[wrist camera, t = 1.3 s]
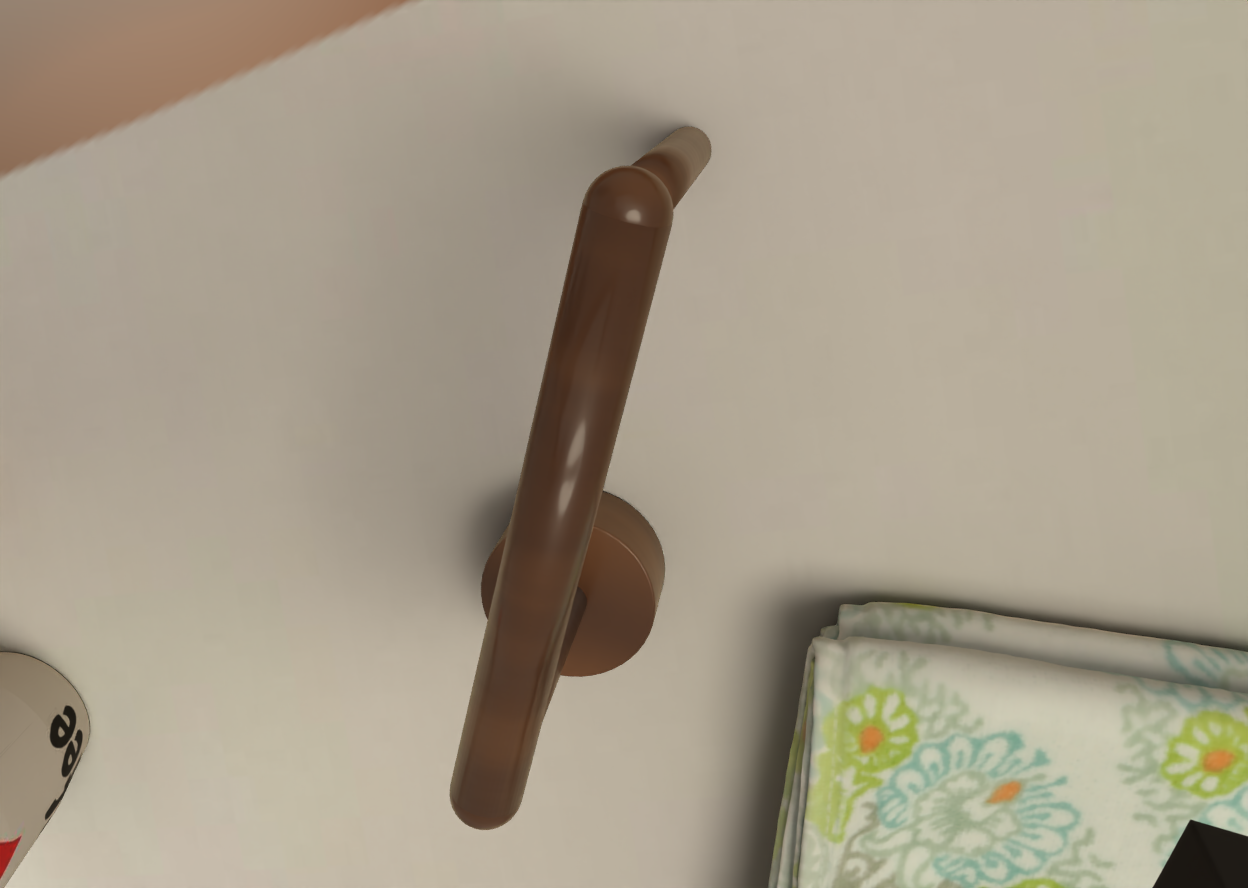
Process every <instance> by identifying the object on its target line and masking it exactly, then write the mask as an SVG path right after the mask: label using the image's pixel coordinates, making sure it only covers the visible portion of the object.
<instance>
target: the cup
mask: <svg viewBox="0 0 1248 888" xmlns="http://www.w3.org/2000/svg"><path fill="white" fill-rule="evenodd" d="M89 733H90V726H89V719H88V715H87V711H86V709H85V706H84V704H83V702H82V700H81V698H80V697H79V695H78V693H77V692H76V690H75V689H74V688H73V687H72V685H71V684H70V683H69V682H68V681H67V680H66V679H65V678H64V677H63V676H62V675H61V674H60V673H58V672H57V671H56V670H54V669H53V668H52V667H50V666H48V665H47V664H45V663H43V662H41V661H39V660H37V659H35V658H32V657H30V656H27V655H23V654H19V653H12V652H0V888H4V887H5V885H6V884H7V883H8V881H9V880H10V878H11V877H12V875H13V874H14V872H15V871H16V869H17V868H18V866H19V865H20V863H21V862H22V860H23V859H24V857H25V856H26V854H27V853H28V851H29V850H30V848H31V847H32V845H33V844H34V842H35V841H36V839H37V838H38V836H39V835H40V833H41V832H42V830H43V829H44V827H45V826H46V824H47V823H48V821H49V820H50V818H51V817H52V815H53V814H54V812H55V811H56V809H57V808H58V806H59V804H60V803H61V800H62V798H63V796H64V794H65V792H66V789H67V787H68V785H69V783H70V781H71V779H72V776H73V774H74V772H75V770H76V768H77V766H78V763H79V761H80V759H81V757H82V755H83V753H84V750H85V748H86V746H87V743H88V740H89Z"/></svg>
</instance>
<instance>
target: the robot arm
mask: <svg viewBox="0 0 1248 888" xmlns="http://www.w3.org/2000/svg"><path fill="white" fill-rule="evenodd" d="M1153 888H1248V836H1245V835H1242V834H1239V833H1235V832H1232V831H1228V830H1225V829H1221V828H1218V827H1215V826H1211V825H1208V824H1204V823H1201V822H1198V821H1194V820H1191V819H1190V821H1189V823H1188V824H1187V826H1186V828H1185V830H1184V832H1183V833H1182V835H1181V837H1180V839H1179V841H1178V842H1177V844H1176V846H1175V848H1174V850H1173V851H1172V853H1171V855H1170V857H1169V859H1168V860H1167V862H1166V864H1165V866H1164V868H1163V870H1162V871H1161V873H1160V875H1159V877H1158V879H1157V880H1156V882H1155V884H1154V886H1153Z"/></svg>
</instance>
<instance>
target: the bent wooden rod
mask: <svg viewBox="0 0 1248 888" xmlns="http://www.w3.org/2000/svg"><path fill="white" fill-rule="evenodd" d="M710 157H711V144H710V141H709V138H708V137H707V135H706V134H705V133H704V132H703V131H701V130H700V129H698V128H695V127H682V128H679V129H678V130H676V131H675V132H673V133H672V134H671V135H669V136H668V137H667V138H666V139H664V140H663V141H662V142H661V143H659V144H658V145H657V146H655V147H654V148H653V149H652V150H650V151H649V152H648V153H646V154H645V155H644V156H643V157H641V158H640V159H639V160H638V161H636V162H635V163H634V164H632V165H631V166H619V167H615V168H612V169H610V170H607V171H605V172H603V173H602V174H601V175H599V176H598V177H597V178H596V179H595V180H594V181H593V182H592V184H591V185H590V187H589V188H588V190H587V192H586V194H585V197H584V200H583V203H582V207H581V211H580V216H579V220H578V225H577V229H576V233H575V238H574V242H573V247H572V251H571V255H570V260H569V264H568V269H567V273H566V277H565V282H564V286H563V291H562V295H561V299H560V304H559V308H558V313H557V317H556V322H555V326H554V330H553V335H552V339H551V344H550V348H549V352H548V357H547V361H546V366H545V370H544V374H543V379H542V383H541V388H540V392H539V396H538V401H537V405H536V410H535V414H534V419H533V423H532V427H531V432H530V436H529V441H528V445H527V449H526V454H525V458H524V463H523V467H522V471H521V476H520V480H519V485H518V489H517V493H516V498H515V502H514V507H513V511H512V516H511V520H510V523H509V525H508V526H507V528H506V530H505V531H504V533H503V535H502V536H501V538H500V540H499V541H498V543H497V545H496V546H495V548H494V549H493V551H492V553H491V554H490V556H489V558H488V560H487V563H486V565H485V568H484V571H483V575H482V582H481V597H482V603H483V608H484V611H485V614H486V617H487V619H488V621H487V626H486V630H485V635H484V639H483V643H482V648H481V652H480V657H479V661H478V665H477V670H476V674H475V679H474V683H473V687H472V692H471V696H470V701H469V705H468V710H467V714H466V718H465V723H464V727H463V732H462V736H461V740H460V745H459V749H458V754H457V758H456V762H455V767H454V771H453V776H452V780H451V785H450V801H451V805H452V808H453V810H454V812H455V814H456V815H457V816H458V818H459V819H460V820H461V821H462V822H464V823H465V824H466V825H468V826H470V827H472V828H475V829H479V830H490V829H495V828H498V827H500V826H502V825H504V824H505V823H507V822H508V821H509V820H511V818H512V817H513V816H514V815H515V814H516V812H517V811H518V809H519V807H520V804H521V802H522V798H523V794H524V790H525V786H526V782H527V779H528V775H529V771H530V767H531V763H532V759H533V756H534V752H535V748H536V744H537V740H538V736H539V733H540V729H541V725H542V722H543V719H544V716H545V714H546V711H547V709H548V706H549V703H550V701H551V698H552V696H553V693H554V690H555V688H556V685H557V682H558V680H559V677H560V675H563V676H579V677H582V676H591V675H596V674H600V673H604V672H607V671H609V670H612V669H614V668H616V667H618V666H620V665H622V664H623V663H625V662H626V661H627V660H629V659H630V658H631V657H632V656H633V655H635V654H636V653H637V652H638V651H639V649H640V648H641V647H642V645H643V644H644V643H645V641H646V639H647V637H648V636H649V634H650V631H651V628H652V626H653V622H654V618H655V614H656V611H657V607H658V603H659V599H660V595H661V591H662V587H663V583H664V577H665V562H664V556H663V551H662V548H661V545H660V542H659V540H658V538H657V536H656V534H655V532H654V530H653V529H652V527H651V526H650V525H649V523H648V522H647V521H646V519H645V518H644V517H643V516H642V515H641V514H640V513H639V512H638V511H637V510H635V509H634V508H633V507H632V506H630V505H629V504H627V503H626V502H624V501H623V500H621V499H619V498H617V497H615V496H613V495H611V494H608V493H605V492H603V487H604V484H605V480H606V476H607V472H608V468H609V464H610V461H611V457H612V453H613V449H614V445H615V441H616V438H617V434H618V430H619V426H620V422H621V418H622V415H623V411H624V407H625V403H626V399H627V395H628V392H629V388H630V384H631V380H632V376H633V372H634V369H635V365H636V361H637V357H638V353H639V349H640V346H641V342H642V338H643V334H644V330H645V326H646V323H647V319H648V315H649V311H650V307H651V303H652V300H653V296H654V292H655V288H656V284H657V280H658V277H659V273H660V269H661V265H662V261H663V257H664V254H665V250H666V246H667V242H668V238H669V234H670V231H671V227H672V221H673V209H674V208H675V207H676V205H677V204H678V203H679V201H680V200H681V198H682V197H683V196H684V194H685V193H686V192H687V190H688V189H689V188H690V186H691V185H692V184H693V182H694V181H695V180H696V178H697V177H698V175H699V174H700V173H701V171H702V170H703V169H704V167H705V166H706V165H707V163H708V161H709V159H710Z"/></svg>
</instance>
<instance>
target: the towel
mask: <svg viewBox="0 0 1248 888" xmlns="http://www.w3.org/2000/svg"><path fill="white" fill-rule="evenodd" d="M1190 819H1191V820H1194V821H1198V822H1201V823H1204V824H1208V825H1211V826H1215V827H1218V828H1221V829H1225V830H1228V831H1232V832H1235V833H1239V834H1242V835H1245V836H1248V652H1244V651H1240V650H1233V649H1228V648H1220V647H1212V646H1205V645H1198V644H1195V643H1188V642H1181V641H1177V640H1168V639H1160V638H1153V637H1146V636H1138V635H1131V634H1123V633H1116V632H1109V631H1103V630H1098V629H1092V628H1083V627H1074V626H1069V625H1064V624H1057V623H1049V622H1041V621H1035V620H1029V619H1023V618H1015V617H1008V616H1001V615H997V614H993V613H987V612H981V611H974V610H969V609H958V608H944V607H937V606H929V605H920V604H911V603H892V602H869V603H867V604H865V605H854V604H842V605H841V606H840V607H839V615H838V620H837V625H836V626H828V627H824V628H822V629H821V633H820V637H815V638H813V640H812V642H811V645H810V646H809V647H808V652H807V657H806V663H805V670H804V677H803V684H802V689H801V694H800V699H799V707H798V716H797V722H796V726H795V731H794V737H793V742H792V746H791V749H790V756H789V762H788V768H787V772H786V782H785V787H784V791H783V799H782V802H781V807H780V812H779V818H778V822H777V833H776V839H775V845H774V851H773V857H772V864H771V871H770V878H769V884H768V888H1153V886H1154V884H1155V882H1156V880H1157V879H1158V877H1159V875H1160V873H1161V871H1162V870H1163V868H1164V866H1165V864H1166V862H1167V860H1168V859H1169V857H1170V855H1171V853H1172V851H1173V850H1174V848H1175V846H1176V844H1177V842H1178V841H1179V839H1180V837H1181V835H1182V833H1183V832H1184V830H1185V828H1186V826H1187V824H1188V823H1189V821H1190Z"/></svg>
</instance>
